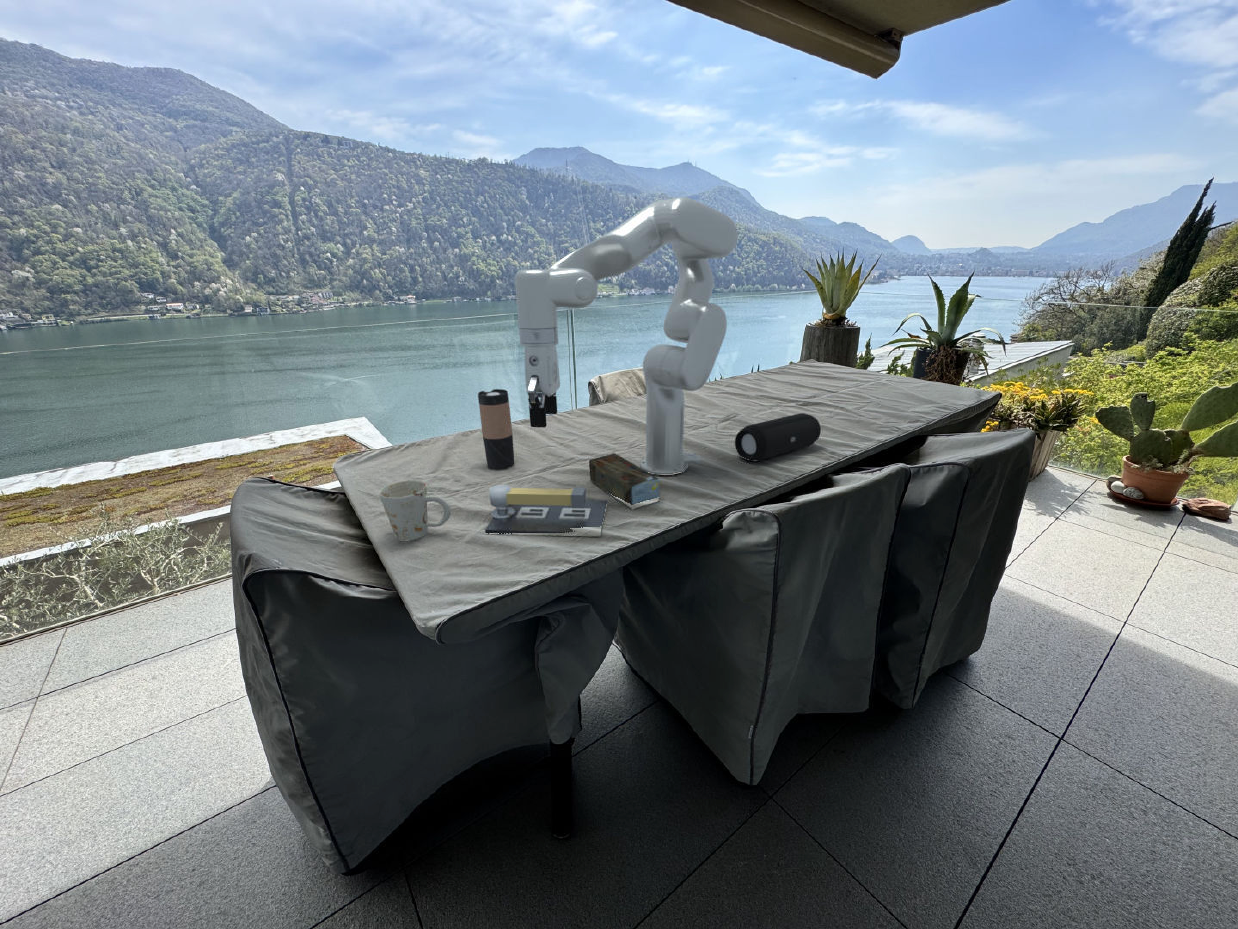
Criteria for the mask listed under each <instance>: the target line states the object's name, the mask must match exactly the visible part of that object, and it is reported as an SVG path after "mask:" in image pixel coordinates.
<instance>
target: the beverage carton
mask: <svg viewBox="0 0 1238 929" xmlns="http://www.w3.org/2000/svg"><path fill="white" fill-rule="evenodd" d="M588 466H589V467H588V468H589V479H590V482H592V483H593V484H594V485H596V486H598V487H599V488H600V489H602V490H603V491H605V492H606V491H607V492H608V494H609V493H610V494H612V495H613V496H615V497H618V498H620V499H622V500H624V501H625V502H627V503H630V504H631V505H634V504H636V503H640V502H643V501H646V500H651V499H654V498H657V497H659V498H660V479H659V478H658V477H656V475H653V474H650V473H648V472H647V471H645V470H643V469H642V468H641V467H640V466H638V465H637V464H635V463H633V462H631V461H629V460H628V459H626V458H624V457H622V456H621V455H619V454H616V453H615V452H614V453H611V454H607V455H602V456H599V457H596V458H592V459H591V458H590V459H589V460H588ZM607 492H606V493H607ZM610 494H609V495H610ZM612 495H611V496H612ZM613 496H612V497H613ZM615 497H614V498H615Z"/></svg>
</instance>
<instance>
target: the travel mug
mask: <svg viewBox="0 0 1238 929" xmlns="http://www.w3.org/2000/svg"><path fill="white" fill-rule="evenodd" d="M477 398H478V399H477V400H478V405H479V406H478V408H479V414H480V425H481V432H482V439H483V447H484V451H485V452H484V453H485V459H486V463H487V468H488V469H491V470H495V471H500V470H507V469H510V468H512V467H514V465H515V453H514V452H515V451H514V436H513V428H512V426H513V425H512V418H511V409H510V401H509V400H510V399H509V392H508V390H506V389H502V388H497V389H496V388H494V389H492V390H491V391H485V390H480V391H479V392H478V393H477Z"/></svg>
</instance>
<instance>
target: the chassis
mask: <svg viewBox="0 0 1238 929" xmlns="http://www.w3.org/2000/svg"><path fill="white" fill-rule="evenodd" d="M606 504H607V505H608V500H596V499H595V500H594V499H593V500H590V499H589V500H588V499H586V501H585V505H584V508H572V506H567V505H518V504H509V505H506V506H502V507H496V506H495V508H494V509H492V510H490V517H491V520H490V522H488V524H487V526H486V527H485V529H484V532H485V533H488V534H487V535H490V534H489V533H499V534H501V533H502V534H504V533H505V534H506V533H508V534H509V533H511V534H512V533H565V532H566V533H567V532H568V533H569V532H573V530H572V529H570V528H581V527H582V528H583V527H600V526H602V522H603V518H604V519H605V517H604V514H605V515H606V512H605V509H606V510H607V507H606ZM603 523H604V522H603ZM602 527H603V526H602ZM574 532H575V531H574ZM485 533H484V534H485Z"/></svg>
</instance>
